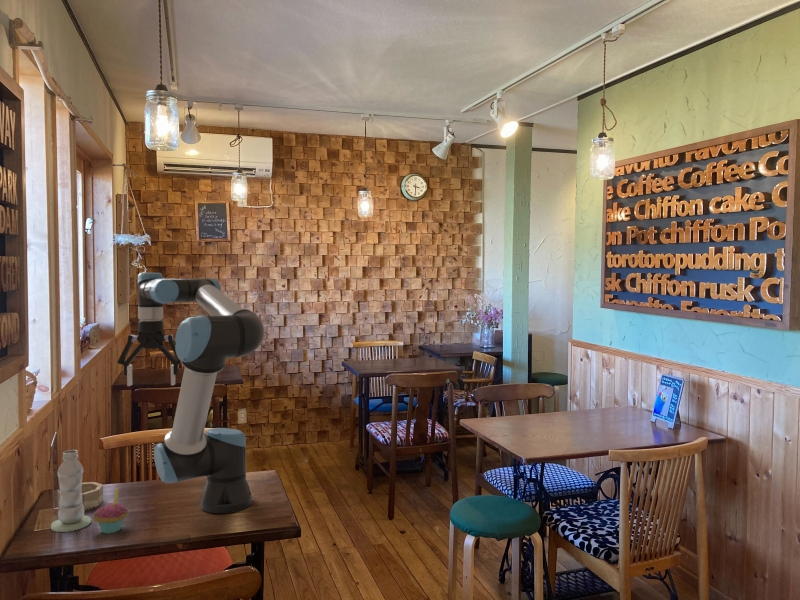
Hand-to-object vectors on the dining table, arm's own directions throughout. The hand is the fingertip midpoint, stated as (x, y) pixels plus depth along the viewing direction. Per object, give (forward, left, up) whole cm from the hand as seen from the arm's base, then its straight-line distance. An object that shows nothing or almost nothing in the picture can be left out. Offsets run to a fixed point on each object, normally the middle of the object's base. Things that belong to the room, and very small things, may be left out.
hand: (151, 385), depth 201 cm
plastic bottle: (-6, +30, -34) cm, 46 cm away
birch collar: (+7, +20, -35) cm, 41 cm away
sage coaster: (-6, +30, -35) cm, 46 cm away
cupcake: (-19, +26, -35) cm, 47 cm away
